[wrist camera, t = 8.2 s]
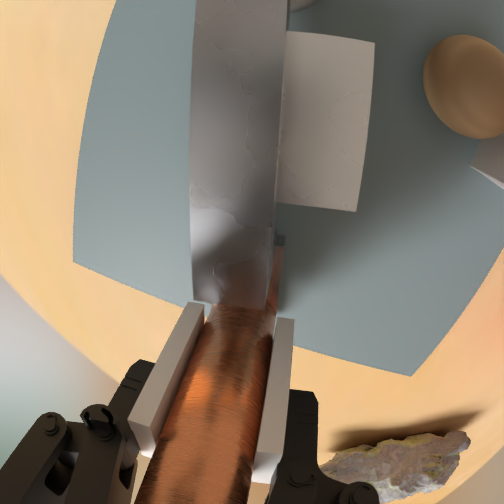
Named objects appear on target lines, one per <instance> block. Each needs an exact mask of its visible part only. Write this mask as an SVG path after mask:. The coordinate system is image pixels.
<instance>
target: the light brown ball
mask: <svg viewBox="0 0 504 504" xmlns="http://www.w3.org/2000/svg"><path fill="white" fill-rule="evenodd" d="M423 87H424V91H425V94H426V97H427V100H428V102H429V104H430V106H431V108H432V109H433V111H434V112H435V114H436V115H437V116H438V117H439V119H440V120H441V121H442V122H443V123H444V124H445V125H447V126H448V127H449V128H451V129H452V130H453V131H455V132H457V133H459V134H461V135H464V136H466V137H470V138H474V139H489V138H493V137H496V136H498V135H500V134H502V133H504V54H503V53H502V52H501V51H500V50H499V49H497V48H496V47H495V46H493V45H492V44H490V43H489V42H487V41H485V40H483V39H480V38H478V37H475V36H470V35H455V36H450V37H447V38H445V39H443V40H441V41H440V42H438V43H437V44H436V45H435V46H434V47H433V48H432V49H431V50H430V52H429V54H428V55H427V57H426V60H425V63H424V67H423Z"/></svg>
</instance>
